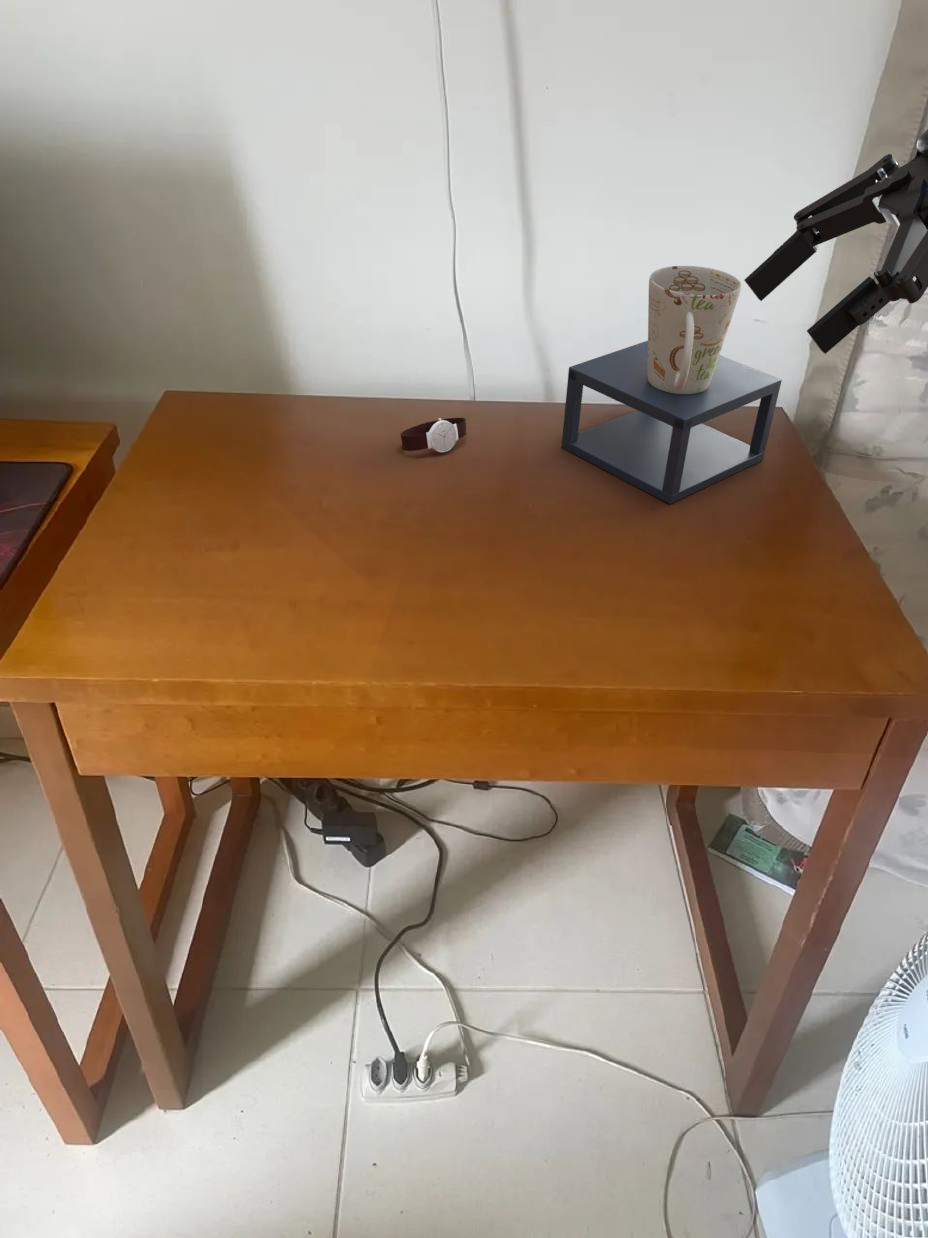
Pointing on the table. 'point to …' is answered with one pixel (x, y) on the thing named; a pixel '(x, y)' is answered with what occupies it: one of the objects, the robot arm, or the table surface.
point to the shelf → (667, 424)
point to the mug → (688, 325)
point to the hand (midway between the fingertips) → (781, 315)
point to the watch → (434, 435)
